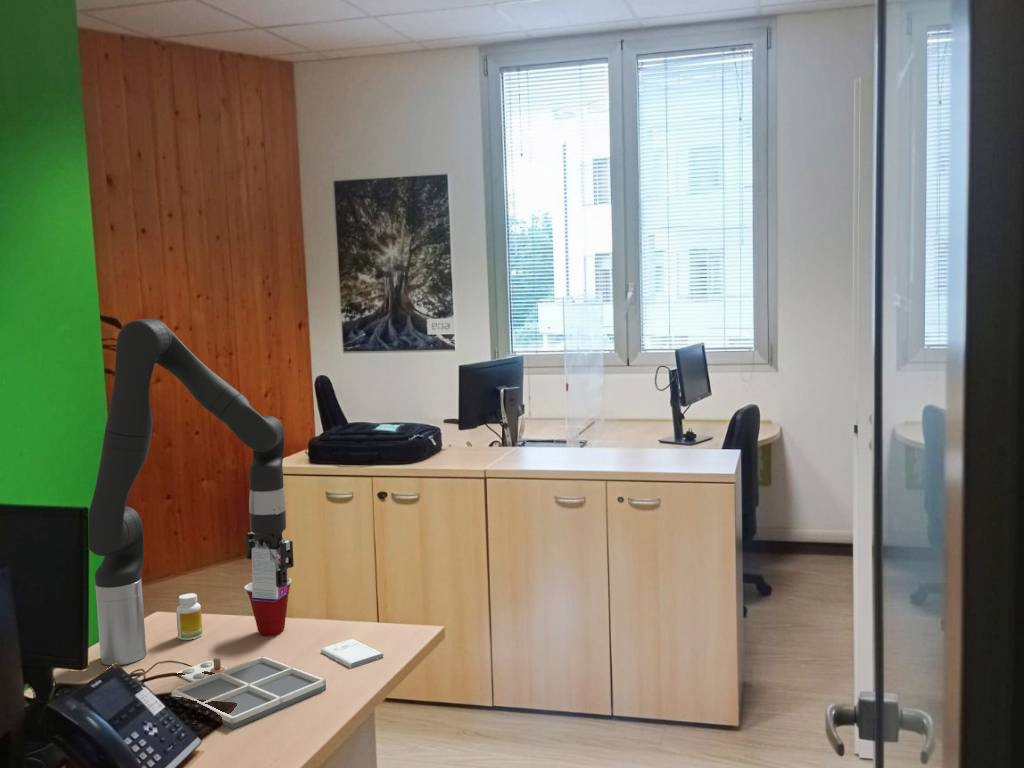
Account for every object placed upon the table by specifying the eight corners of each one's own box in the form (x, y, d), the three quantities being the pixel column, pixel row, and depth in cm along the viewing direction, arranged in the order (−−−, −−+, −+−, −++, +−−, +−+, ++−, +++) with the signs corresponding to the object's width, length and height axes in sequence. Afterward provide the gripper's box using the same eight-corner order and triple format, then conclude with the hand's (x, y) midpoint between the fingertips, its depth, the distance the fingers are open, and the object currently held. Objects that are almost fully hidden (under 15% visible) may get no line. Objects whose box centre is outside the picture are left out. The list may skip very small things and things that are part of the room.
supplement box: (277, 602, 194) (275, 549, 193) (251, 600, 195) (249, 548, 194) (289, 593, 200) (287, 542, 199) (264, 592, 201) (262, 541, 200)
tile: (175, 674, 189) (174, 661, 189) (209, 662, 195) (209, 649, 195) (196, 683, 184) (195, 670, 184) (230, 670, 190) (229, 658, 190)
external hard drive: (350, 670, 189) (321, 654, 199) (383, 660, 195) (353, 644, 204) (350, 663, 189) (320, 647, 199) (383, 652, 195) (353, 637, 204)
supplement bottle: (207, 635, 212) (204, 594, 211) (186, 642, 207) (183, 601, 207) (194, 630, 215) (191, 590, 214) (173, 637, 211) (170, 597, 210)
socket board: (171, 699, 177) (171, 689, 176) (263, 665, 192) (263, 655, 192) (232, 729, 163) (232, 718, 163) (326, 689, 179) (325, 679, 179)
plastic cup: (270, 621, 220) (268, 572, 219) (304, 627, 215) (301, 578, 214) (236, 635, 211) (233, 585, 210) (270, 643, 205) (267, 591, 204)
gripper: (233, 507, 197) (236, 581, 199) (272, 517, 188) (275, 594, 190) (262, 501, 203) (265, 573, 204) (302, 510, 194) (304, 585, 195)
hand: (270, 583), depth 197 cm, fingers closed on supplement box, 7 cm apart
